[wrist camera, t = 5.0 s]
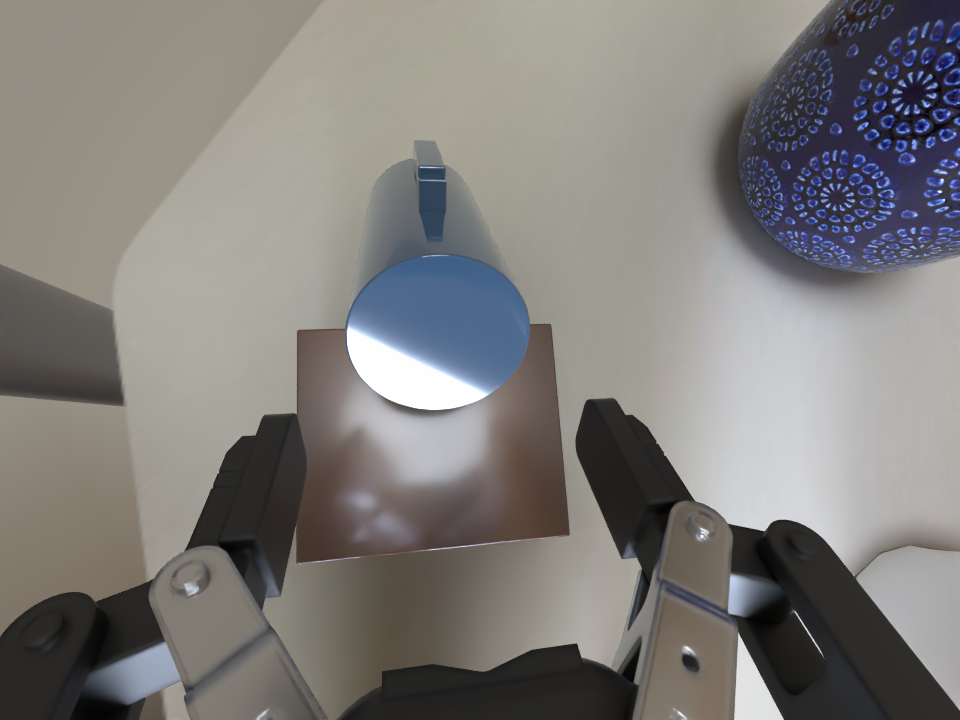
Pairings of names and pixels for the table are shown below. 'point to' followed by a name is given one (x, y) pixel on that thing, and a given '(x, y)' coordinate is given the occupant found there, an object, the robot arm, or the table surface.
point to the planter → (861, 138)
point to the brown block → (425, 460)
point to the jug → (432, 292)
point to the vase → (922, 606)
